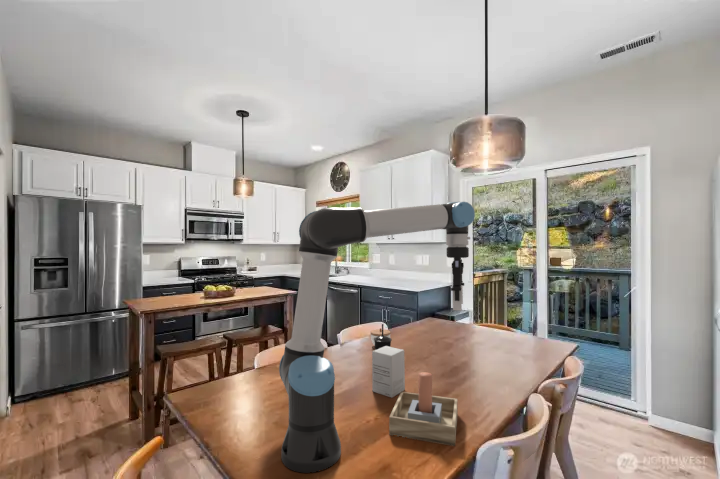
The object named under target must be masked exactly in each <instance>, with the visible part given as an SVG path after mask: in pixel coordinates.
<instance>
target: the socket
mask: <svg viewBox="0 0 720 479" xmlns="http://www.w3.org/2000/svg"><path fill="white" fill-rule="evenodd" d="M408 419H414V420H421V421H427V422H434V423H440V424H441V419H442V404H441V403H433V402H432V413H425V412H419V400H412V403H411V406H410V408H409V411H408Z"/></svg>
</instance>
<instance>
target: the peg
mask: <svg viewBox="0 0 720 479" xmlns="http://www.w3.org/2000/svg"><path fill="white" fill-rule="evenodd" d="M417 376H418V394H419V412H425V413H432V396H433V374H432V373H430V372H427V371H426V372H425V371H423V372H418V375H417Z"/></svg>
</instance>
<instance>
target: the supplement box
mask: <svg viewBox="0 0 720 479" xmlns="http://www.w3.org/2000/svg"><path fill="white" fill-rule="evenodd" d="M371 353H372V354H371V356H372V359H371V361H372V362H371V366H372V369H371V370H372V374H371V375H372V378H371V380H372V381H371V382H372V383H371V384H372V390H371V391H372V392H373V393H377V394H380V395H383V396H386V397H389V398H391V399H392V398H394V397H395V396H397V395H400V393H401V392H404V391H405V390H406V388H405V387H406V383H405V382H406V380H405V378H406V377H405V375H406V372H405V371H406V370H405V369H406V368H405V367H406V366H405V350H404V349H402V348H398V347H397V348H396V347H394V346H393V347H392V346H390V347H389V346H384V347H382V348H379V349H377V350H372V351H371Z"/></svg>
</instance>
